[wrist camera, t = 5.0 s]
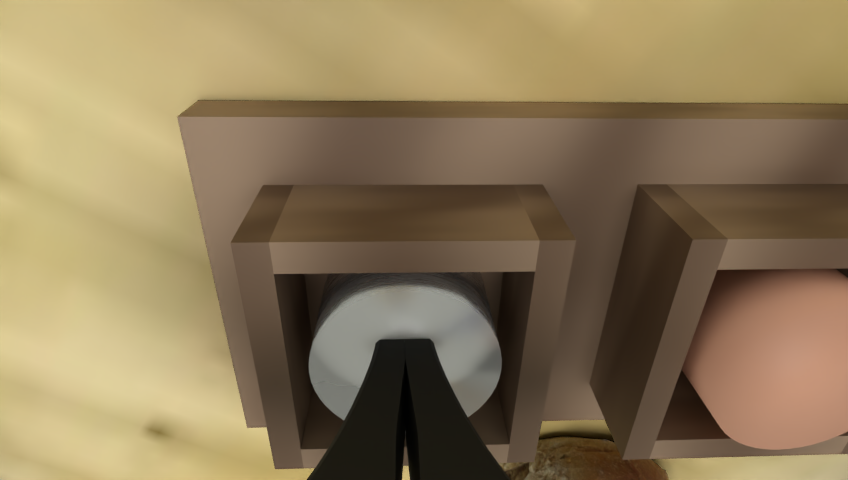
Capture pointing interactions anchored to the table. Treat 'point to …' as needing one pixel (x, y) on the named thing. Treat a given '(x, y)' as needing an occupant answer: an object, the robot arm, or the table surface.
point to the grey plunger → (404, 331)
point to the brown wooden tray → (515, 245)
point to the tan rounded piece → (774, 356)
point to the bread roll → (582, 462)
